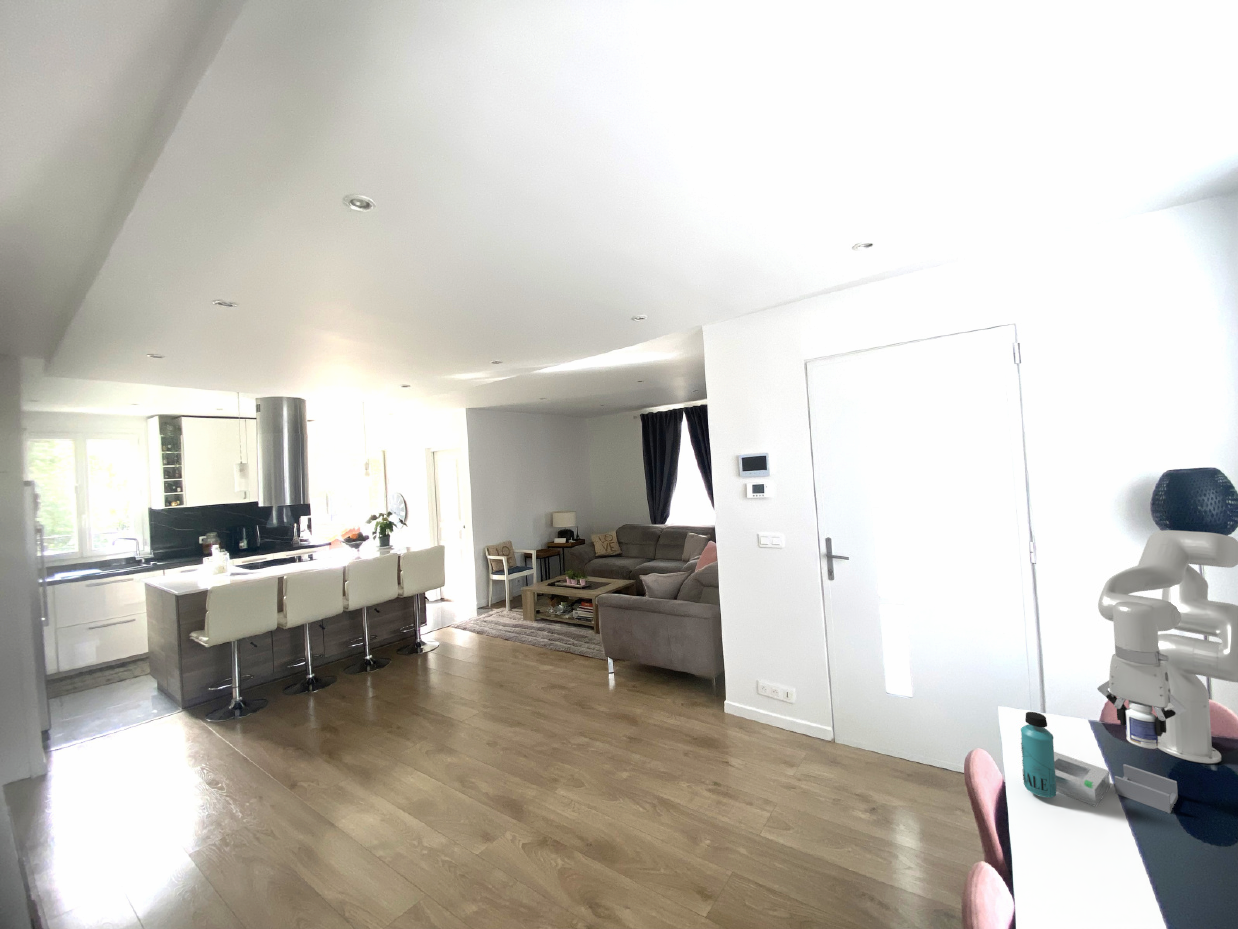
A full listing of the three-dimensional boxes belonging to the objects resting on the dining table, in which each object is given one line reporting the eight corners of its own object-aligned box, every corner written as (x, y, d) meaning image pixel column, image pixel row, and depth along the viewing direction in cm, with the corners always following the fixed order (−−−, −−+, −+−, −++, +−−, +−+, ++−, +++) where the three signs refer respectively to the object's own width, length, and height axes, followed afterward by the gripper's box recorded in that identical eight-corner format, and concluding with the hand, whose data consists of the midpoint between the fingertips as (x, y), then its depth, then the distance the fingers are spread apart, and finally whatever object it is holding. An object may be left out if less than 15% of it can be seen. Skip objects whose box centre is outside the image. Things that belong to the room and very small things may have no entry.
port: (1049, 764, 135) (1048, 747, 135) (1110, 786, 125) (1108, 768, 125) (1032, 782, 129) (1031, 764, 129) (1095, 806, 119) (1094, 787, 119)
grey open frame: (1124, 779, 128) (1123, 764, 128) (1177, 798, 120) (1176, 781, 120) (1115, 793, 123) (1114, 777, 123) (1170, 813, 115) (1168, 796, 115)
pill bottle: (1165, 750, 118) (1163, 708, 119) (1138, 748, 119) (1136, 707, 120) (1146, 739, 124) (1144, 698, 124) (1120, 737, 125) (1118, 697, 125)
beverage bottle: (1052, 790, 125) (1047, 710, 125) (1062, 807, 119) (1057, 723, 119) (1019, 785, 128) (1015, 706, 128) (1028, 801, 122) (1023, 718, 122)
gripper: (1192, 660, 117) (1197, 738, 117) (1094, 641, 131) (1098, 711, 131) (1186, 669, 113) (1191, 750, 113) (1085, 649, 127) (1089, 720, 127)
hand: (1141, 728), depth 122 cm, fingers closed on pill bottle, 5 cm apart
